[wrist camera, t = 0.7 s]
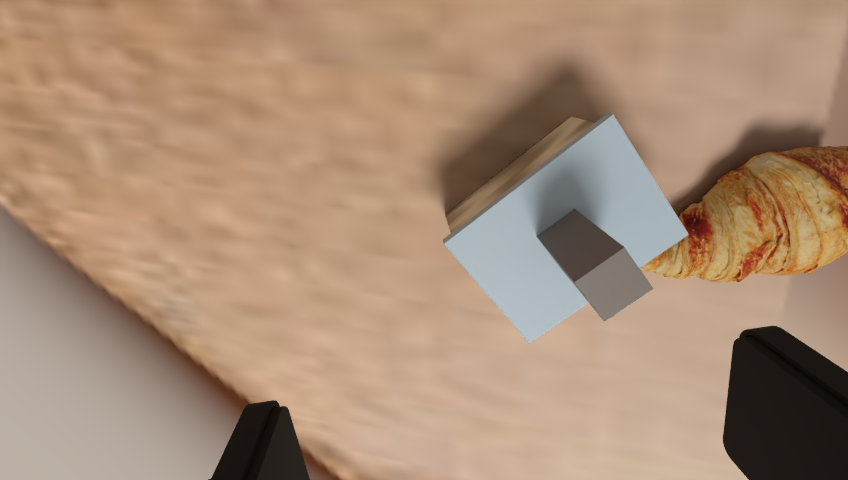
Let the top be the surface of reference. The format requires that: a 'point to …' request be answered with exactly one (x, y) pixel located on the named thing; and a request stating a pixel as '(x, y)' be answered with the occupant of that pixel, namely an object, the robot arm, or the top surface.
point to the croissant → (765, 219)
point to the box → (516, 171)
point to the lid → (570, 233)
